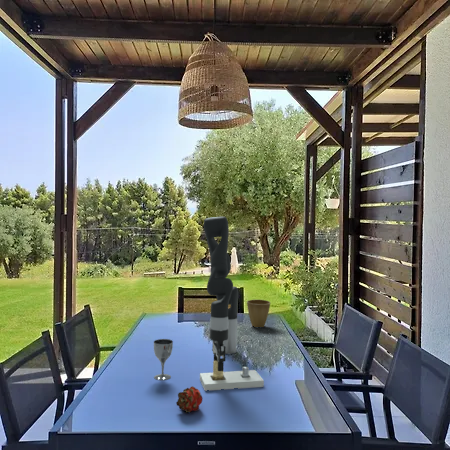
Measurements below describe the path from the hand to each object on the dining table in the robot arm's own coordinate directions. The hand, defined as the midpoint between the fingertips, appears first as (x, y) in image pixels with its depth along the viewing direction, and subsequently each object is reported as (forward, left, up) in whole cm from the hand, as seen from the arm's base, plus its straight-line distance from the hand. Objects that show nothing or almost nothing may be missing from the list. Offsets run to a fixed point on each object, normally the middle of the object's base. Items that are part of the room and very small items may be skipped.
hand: (218, 367), depth 167 cm
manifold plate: (0, +5, -7) cm, 9 cm away
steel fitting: (0, +11, -7) cm, 13 cm away
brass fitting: (0, 0, -7) cm, 7 cm away
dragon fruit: (+21, -15, -7) cm, 26 cm away
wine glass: (-11, -22, -7) cm, 25 cm away
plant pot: (-88, +44, -7) cm, 99 cm away
